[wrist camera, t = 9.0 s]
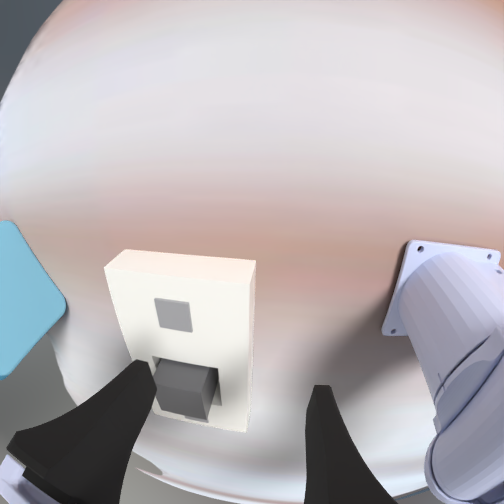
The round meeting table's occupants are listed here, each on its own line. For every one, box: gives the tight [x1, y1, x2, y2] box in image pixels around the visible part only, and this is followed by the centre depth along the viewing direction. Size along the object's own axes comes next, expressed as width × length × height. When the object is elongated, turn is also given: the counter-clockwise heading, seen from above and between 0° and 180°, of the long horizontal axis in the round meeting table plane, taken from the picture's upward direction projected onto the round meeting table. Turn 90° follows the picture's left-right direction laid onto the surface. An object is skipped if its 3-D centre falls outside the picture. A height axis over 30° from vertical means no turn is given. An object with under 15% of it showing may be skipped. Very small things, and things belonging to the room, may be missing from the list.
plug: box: [153, 358, 219, 420], centre depth 21 cm, size 4×4×6 cm
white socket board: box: [104, 249, 256, 432], centre depth 21 cm, size 10×18×3 cm, turn 179°
